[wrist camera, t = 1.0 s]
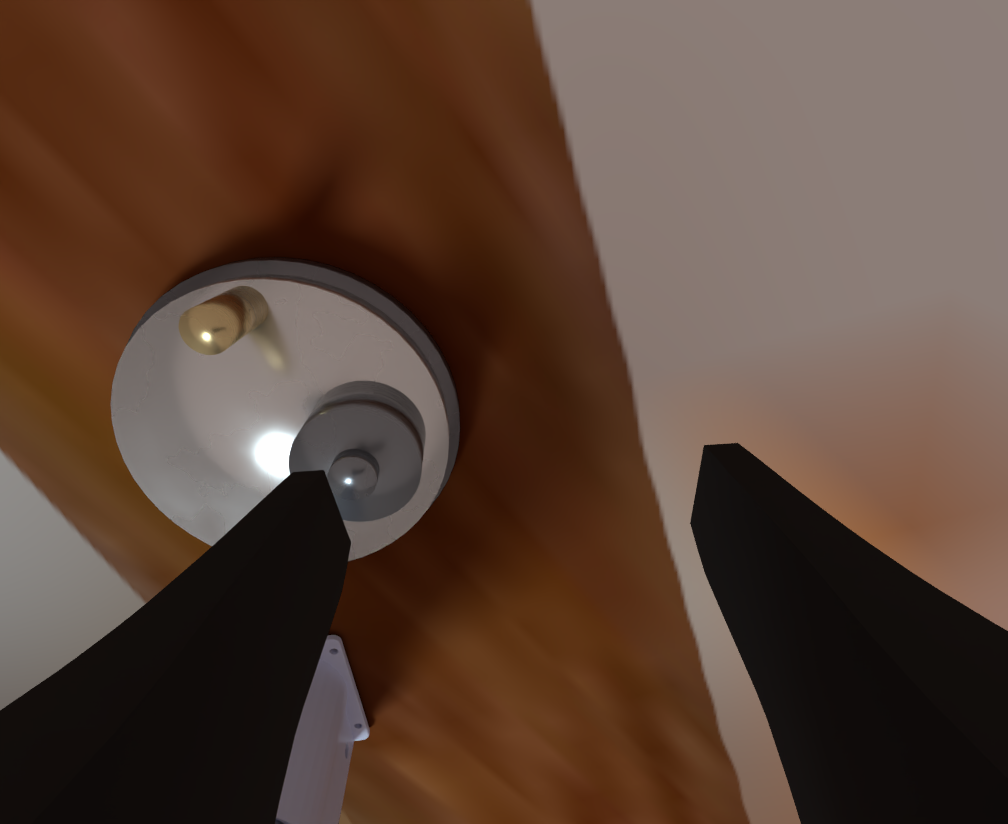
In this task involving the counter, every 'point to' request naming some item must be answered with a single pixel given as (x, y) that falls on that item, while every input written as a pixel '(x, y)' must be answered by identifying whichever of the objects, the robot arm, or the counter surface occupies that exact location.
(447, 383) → the turntable base
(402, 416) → the lid
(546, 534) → the counter surface
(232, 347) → the turntable
